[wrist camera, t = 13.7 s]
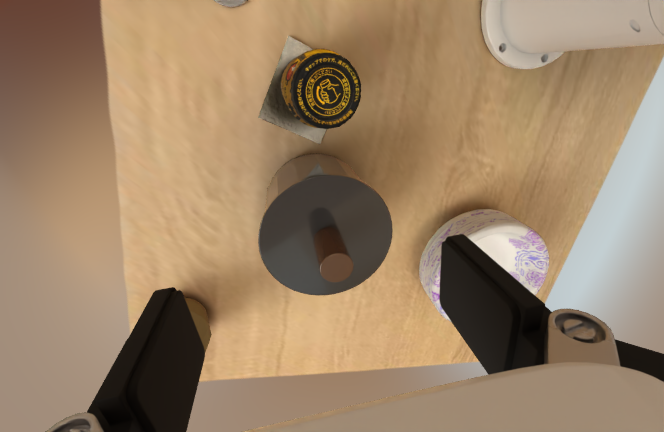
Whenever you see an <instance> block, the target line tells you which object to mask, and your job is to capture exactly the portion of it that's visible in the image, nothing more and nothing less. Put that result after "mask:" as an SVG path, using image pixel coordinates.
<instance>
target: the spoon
mask: <svg viewBox="0 0 664 432" xmlns="http://www.w3.org/2000/svg"><path fill="white" fill-rule="evenodd" d="M214 1H216V2H217V3H219V4H221V5H223V6H228V7H236V6H240V5H242V4H244V3H245V2H246V1H247V0H214Z"/></svg>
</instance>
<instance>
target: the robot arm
mask: <svg viewBox="0 0 664 432" xmlns="http://www.w3.org/2000/svg"><path fill="white" fill-rule="evenodd" d="M481 25H482V33H483V36H484V39H485V43H486V45H487V47H488V48H489V50H490V52H491V53H492V55H493V56H494V57H495V58H496V59H497V60H498V61H499V62H501V63H502V64H504V65H505V66H508V67H511V68H514V69H534V68H538V67H542V66H544V65H546V64H549V63H551V62H553V61H554V60H556V59H557V58H558V57H560V56H561V55H562V54H563V53H565V52H566V51H577V50H590V49H604V48H617V47H631V46H644V45H658V44H664V0H483V1H482V7H481ZM439 300H440V305H441V307H442V309H443V310H444V312H445V313H446V315H447V316H448V317H449V319H450V320H451V322H452V323H453V325H454V326H455V327H456V329H457V330H458V332H459V333H460V334H461V336H462V337H463V339H464V340H465V342H466V343H467V344H468V346H469V347H470V349H471V350H472V352H473V353H474V354H475V356H476V357H477V359H478V360H479V361H480V363H481V364H482V366H483V367H484V369H485V370H486V371H487V373H488V374H489V375H486V376H481V377H476V378H471V379H467V380H463V381H458V382H454V383H449V384H445V385H440V386H436V387H431V388H427V389H422V390H418V391H414V392H409V393H405V394H401V395H396V396H392V397H388V398H383V399H379V400H374V401H370V402H366V403H362V404H357V405H353V406H348V407H344V408H340V409H336V410H331V411H328V412H323V413H319V414H314V415H310V416H306V417H302V418H297V419H293V420H289V421H285V422H280V423H277V424H272V425H268V426H264V427H260V428H255V429H251V430H247V431H243V432H664V354H662V353H659V352H655V351H652V350H649V349H645V348H642V347H638V346H635V345H632V344H628V343H625V342H622V341H618V340H615V339H614V335H613V333H612V331H611V329H610V328H609V327H608V326H607V325H606V324H605V323H604V322H602V321H601V320H600V319H598V318H597V317H595V316H593V315H590V314H588V313H586V312H582V311H579V310H573V309H559V310H555V311H553V312H551V311H550V310H549V309H548V308H546V307H545V304H544V303H543V302H542V301H541V300H539V299H538V298H537V297H536V296H535V295H534V294H533V293H531V292H530V291H529V290H528V289H527V288H526V287H524V286H523V285H522V284H521V283H520V282H519V281H517V280H516V279H515V278H514V277H513V276H512V275H511V274H509V273H508V272H507V271H506V270H505V269H504V268H502V267H501V266H500V265H499V264H498V263H497V262H496V261H494V260H493V259H492V258H491V257H490V256H489V255H487V254H486V253H485V252H484V251H483V250H482V249H480V248H479V247H478V246H477V245H476V244H475V243H474V242H472V241H471V240H470V239H469V238H468V237H467V236H465V235H464V234H459V235H453V236H448V237H447V238H446V240H445V241H443V242H442V246H441V270H440V294H439ZM204 357H205V350H204V346H203V343H202V341H201V338H200V336H199V333H198V331H197V328H196V326H195V323H194V321H193V318H192V315H191V313H190V310H189V308H188V305H187V303H186V300H185V298H184V295H183V293H182V291H180V290H179V291H177V290H176V289H175V288H173V287H172V288H167V289H161V290H156V291H155V292H154V293H153V295H152V296H151V298H150V300H149V302H148V304H147V306H146V307H145V309H144V311H143V313H142V315H141V316H140V318H139V320H138V322H137V324H136V325H135V327H134V329H133V331H132V333H131V335H130V336H129V338H128V339H127V341H126V342H125V344H124V346H123V348H122V350H121V351H120V353H119V355H118V357H117V359H116V361H115V362H114V364H113V366H112V368H111V370H110V372H109V373H108V375H107V377H106V379H105V380H104V382H103V384H102V386H101V388H100V389H99V391H98V393H97V395H96V397H95V399H94V400H93V402H92V404H91V406H90V407H89V409H88V411H87V413H86V412H85V413H78V414H75V415H72V416H69V417H67V418H65V419H63V420H61V421H60V422H58V423H56V424H55V425H53V426H52V427H51V428H49V430H47V431H46V432H186V430H187V426H188V422H189V418H190V414H191V410H192V406H193V402H194V398H195V394H196V390H197V386H198V382H199V378H200V374H201V370H202V366H203V362H204Z"/></svg>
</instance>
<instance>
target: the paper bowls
mask: <svg viewBox="0 0 664 432" xmlns="http://www.w3.org/2000/svg"><path fill="white" fill-rule="evenodd" d="M459 234H464V235H465V236H467V237H468V238H469V239H470V240H471V241H472V242H474V243H475V244H476V245H477V246H478V247H479V248H480V249H482V250H483V251H484V252H485V253H486V254H487V255H489V256H490V257H491V258H492V259H493V260H494V261H496V262H497V263H498V264H499V265H500V266H501V267H502V268H504V269H505V270H506V271H507V272H508V273H509V274H511V275H512V276H513V277H514V278H515V279H516V280H517V281H519V282H520V283H521V284H522V285H523V286H524V287H526V288H527V289H528V290H529V291H530V292H531V293H533V294H534V295H536V294H537V293H538V291H539V290H540V288H541V286H542V284H543V282H544V280H545V278H546V274H547V271H548V266H549V254H548V250H547V247H546V244H545V242H544V241H543V239H542V238H541V236H540V235H539V234H538V233H537V232H535V231H534V230H533V229H531V228H530V227H528V226H527V225H525V224H523V223H521V222H520V221H518V220H517V219H515V218H513V217H512V216H510V215H508V214H506V213H504V212H501V211H497V210H492V209H479V210H473V211H469V212H466V213H463V214H460V215H458V216H456V217H454V218H452V219H450V220H449V221H447V222H446V223H445V224H444V225H443V226H441V227H440V228H439V229H438V230H437V231H436V233H435V234H434V235H433V237H432V238H431V239H430V240H429V242H428V243H427V245H426V247H425V250H424V251H423V253H422V256H421V260H420V264H419V275H420V276H419V277H420V281H421V284H422V286H423V288H424V290H425V292H426V294H427V295H428V296H429V298H430V300H431V301H432V303H433V304H434V305H435V307H436V309H437V310H438V312H439V313H440V314H441V315H442V316H443V317H444V318H445V319H447V320H449V321H450V322H451V320H450V319H449V317H448V316H447V315H446V313H445V312H444V310H443V309H442V307H441V305H440V300H439V294H440V270H441V246H442V242H443V241H445V240H446V238H447V237H448V236H453V235H459Z"/></svg>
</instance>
